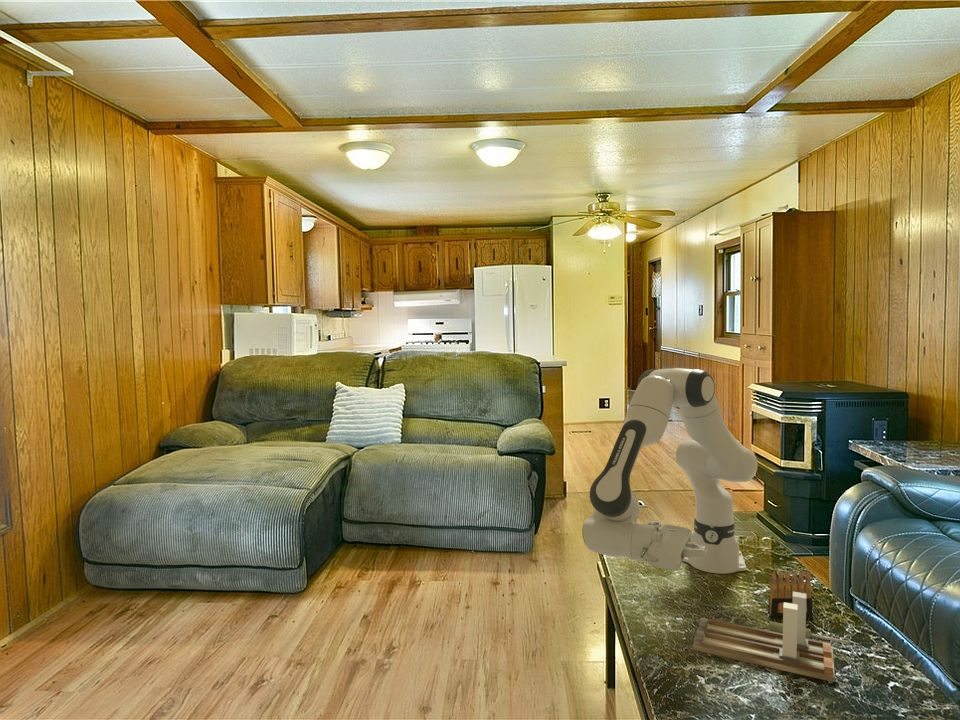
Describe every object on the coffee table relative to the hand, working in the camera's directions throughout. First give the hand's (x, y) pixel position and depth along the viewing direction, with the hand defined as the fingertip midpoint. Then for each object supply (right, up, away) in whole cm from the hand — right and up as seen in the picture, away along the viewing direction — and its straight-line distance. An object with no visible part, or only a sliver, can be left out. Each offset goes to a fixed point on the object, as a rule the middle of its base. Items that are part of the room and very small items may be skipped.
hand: (706, 552), depth 146 cm
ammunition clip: (+27, -21, +15) cm, 38 cm away
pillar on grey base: (+21, -21, -3) cm, 29 cm away
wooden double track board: (+12, -22, -2) cm, 26 cm away
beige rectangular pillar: (+16, -21, -8) cm, 28 cm away
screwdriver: (+25, -22, +4) cm, 33 cm away
